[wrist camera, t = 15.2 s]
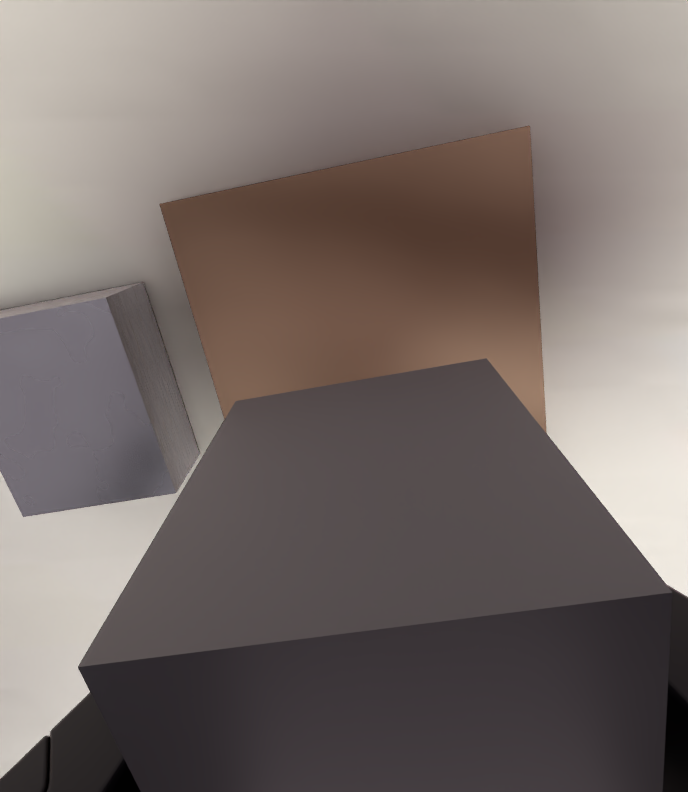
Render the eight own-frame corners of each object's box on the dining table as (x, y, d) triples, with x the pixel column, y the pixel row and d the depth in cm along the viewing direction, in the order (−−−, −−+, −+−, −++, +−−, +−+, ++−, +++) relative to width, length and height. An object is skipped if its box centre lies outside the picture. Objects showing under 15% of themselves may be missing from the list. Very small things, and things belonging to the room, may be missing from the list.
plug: (526, 782, 11) (642, 1187, 7) (349, 799, 12) (344, 1195, 7) (485, 358, 8) (672, 591, 3) (235, 400, 8) (78, 665, 4)
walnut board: (550, 629, 20) (558, 646, 20) (304, 659, 21) (302, 676, 21) (520, 128, 14) (529, 125, 13) (169, 203, 15) (159, 203, 14)
